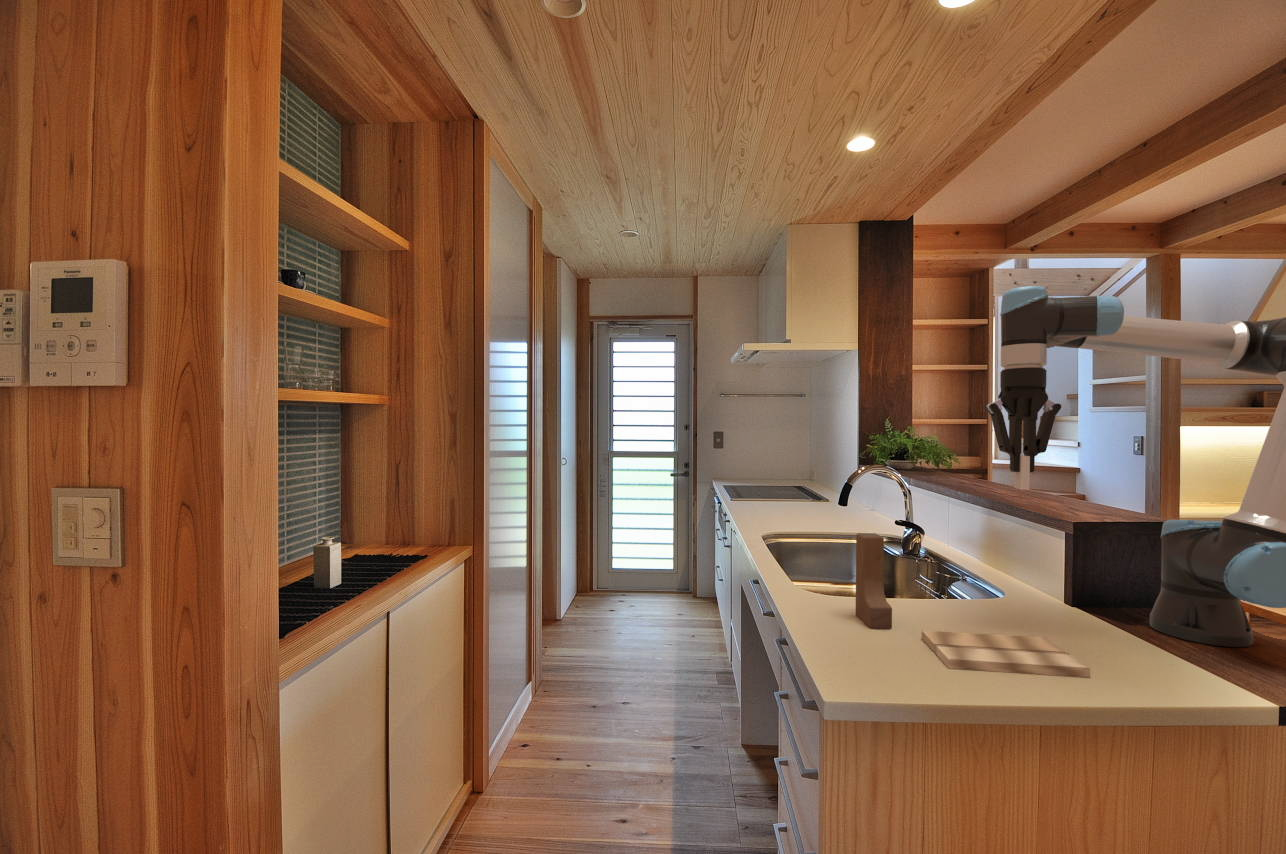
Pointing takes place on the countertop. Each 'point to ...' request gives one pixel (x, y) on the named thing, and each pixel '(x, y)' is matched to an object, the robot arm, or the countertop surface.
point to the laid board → (1011, 660)
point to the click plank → (988, 641)
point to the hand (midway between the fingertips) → (1021, 489)
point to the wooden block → (871, 582)
